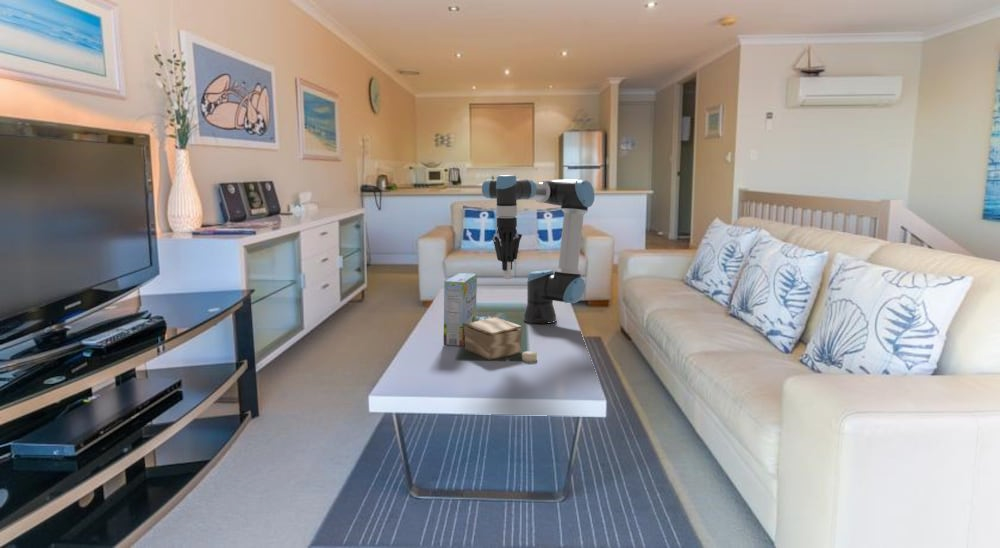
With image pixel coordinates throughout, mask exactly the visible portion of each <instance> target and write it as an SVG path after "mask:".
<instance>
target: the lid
mask: <svg viewBox="0 0 1000 548" xmlns="http://www.w3.org/2000/svg"><path fill="white" fill-rule="evenodd" d="M465 326H467V327H470V328H472V329H475V330H478V331H480V332H483V333H485V334H488V335H494V334H498V333H502V332H506V331H511V330H515V329H521V328H522V325H520V324H517V323H514V322H512V321H511V322H510V321H508V320H505V319H502V318H499V317H497V316H494V317H490V318H486V319H481V320H476V322H471V323H467V324H465Z"/></svg>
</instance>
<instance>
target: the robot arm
mask: <svg viewBox="0 0 1000 548" xmlns="http://www.w3.org/2000/svg"><path fill="white" fill-rule="evenodd" d="M481 193H482V196H483V197H484V198H486V199H490V200H492V199H495V200H496V216H497V218H496V228H497V229H496V234H495V235H494V236H491V240H492V241H493V245H494V249H495V255H496V258H497V261H499V262H501V269H502V271H503V279H505V280H511V279H512V270H513V263H514V262H515V260H517V258H518V254H519V253H518V252H519V247H520V244H521V243H520V241H521V239H522V236H523V235H522V234H521V233H519V232H518V230H517V227H518V226H517V225H518V223H517V222H518V218H517V215H518V214H517V213H518V212H517V211H518V210H517V209H518V208H517V205H518V204H517V201H519V200H521V201H523V200H525V201H535V202H538V203H542V204H548V205H554V206H560V210H561V211H562V212H563V221H562V230H561V241H560V249H559V251H560V252H559V258H558V267H557V268H556V269H555V270H554V271H553V270H552V269H545V270H544V269H542V270H536V271H530V272H529V273H528V274H527V281H526V282H527V288H526V289H527V292H526V295H527V300H526V303H527V304H526V306H525V310H524V314H523V322H525V323H529V324H533V323H548V322H553V321H555V320H556V321H557V315H556V311H555V308H554V303H553V301H556V302H561V303H565V304H576V303H577V302H580V300H581V299H582V298H583V295H584V293H585V289H586V283H585V280H584V278H583V277H582V276H581V275H582V274H581V272H580V270H579V263H580V262H579V261H580V253H581V252H580V251H581V243H582V235H583V224H584V223H583V222H584V215H585V214H587V212H588V210H589V208H590V207H592V206H593V204H594V202H595V189H594V187H593V185H592V184H591V182H590V181H588V180H586V179H579V178H578V179H577V178H576V179H550V180H538V181H537V182H535V181H534V180H532V179H527V178H525V179H517V176H516V175H515V174H513V175H512V174H509V175H508V174H505V175H503V174H500V175H497V177H496V179H494V178H492V179H486V180H484V182H483V183H482V184H481ZM556 321H555V322H556ZM553 323H554V322H553Z"/></svg>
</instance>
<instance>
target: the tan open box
mask: <svg viewBox="0 0 1000 548" xmlns="http://www.w3.org/2000/svg"><path fill="white" fill-rule="evenodd" d="M464 349H465V350H466V351H468V352H470V353H473V354H475V355H477V356H479V357H481V358H483V359H486V360H489V361H491V360H495V359H500V358H505V357H508V356H509V357H510V356H513V355H518V354H521V353H522V329H521V328H519V329H515V330H511V331H506V332H502V333H498V334H494V335H488V334H485V333H483V332H480V331H478V330H475V329H472V328H470V327H467V326H465V344H464Z"/></svg>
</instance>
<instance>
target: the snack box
mask: <svg viewBox="0 0 1000 548" xmlns="http://www.w3.org/2000/svg"><path fill="white" fill-rule="evenodd" d="M477 279H478V275H477V273H463V272H459V273H457V274H455V275H453V276H451V277H449V278H447V280H445V281H444V282H443V283H444V288H443V290H444V291H443V293H444V294H443V296H444V297H443V299H444V300H443V346H444V345H446V346H454V347H463V346H465V324H467V323H471V322H476V321H477V293H478V292H477V291H478V290H477V287H478V286H477V285H478V283H477V282H478V280H477Z"/></svg>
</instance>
